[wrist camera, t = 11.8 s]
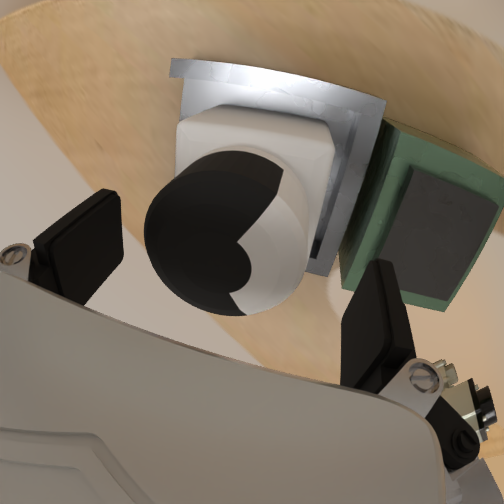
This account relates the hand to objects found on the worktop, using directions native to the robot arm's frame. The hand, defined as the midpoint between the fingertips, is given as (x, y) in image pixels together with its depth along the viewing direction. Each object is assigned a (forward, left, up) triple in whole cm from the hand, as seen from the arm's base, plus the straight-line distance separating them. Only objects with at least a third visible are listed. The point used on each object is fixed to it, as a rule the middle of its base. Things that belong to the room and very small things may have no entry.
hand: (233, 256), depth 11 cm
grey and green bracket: (-4, 0, -12) cm, 13 cm away
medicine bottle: (0, 0, -12) cm, 12 cm away
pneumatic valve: (-23, +18, -13) cm, 32 cm away
